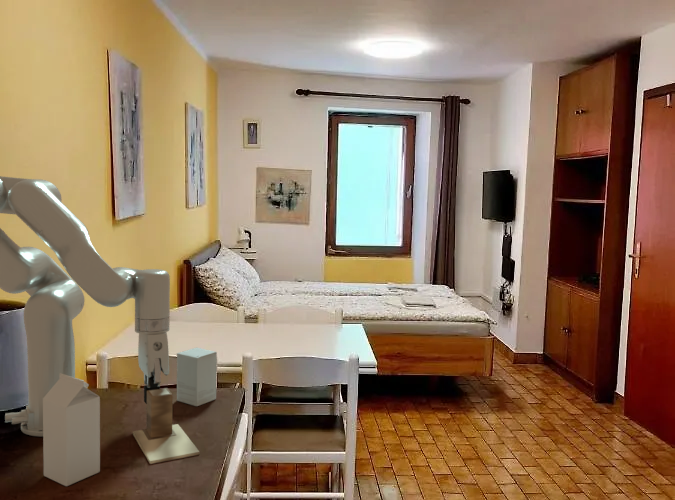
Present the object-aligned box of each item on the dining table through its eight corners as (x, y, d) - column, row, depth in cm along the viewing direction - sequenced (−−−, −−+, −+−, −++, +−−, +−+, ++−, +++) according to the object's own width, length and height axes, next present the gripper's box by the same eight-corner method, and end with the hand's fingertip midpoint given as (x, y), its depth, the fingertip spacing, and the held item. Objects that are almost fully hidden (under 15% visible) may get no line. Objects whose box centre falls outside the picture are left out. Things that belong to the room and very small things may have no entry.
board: (150, 464, 120) (150, 460, 119) (132, 434, 133) (132, 431, 133) (199, 454, 125) (199, 451, 125) (177, 426, 138) (177, 423, 138)
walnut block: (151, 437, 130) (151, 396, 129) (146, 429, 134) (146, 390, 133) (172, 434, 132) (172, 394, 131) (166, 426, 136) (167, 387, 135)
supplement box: (217, 399, 157) (218, 351, 156) (196, 407, 151) (196, 357, 149) (196, 393, 161) (197, 346, 159) (175, 400, 155) (176, 352, 153)
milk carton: (66, 487, 109) (65, 385, 107) (43, 476, 113) (42, 377, 111) (100, 472, 115) (100, 376, 113) (77, 462, 119) (76, 368, 117)
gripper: (178, 329, 132) (177, 410, 134) (160, 316, 145) (160, 390, 147) (143, 333, 128) (142, 416, 130) (128, 318, 141) (128, 394, 143)
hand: (151, 402), depth 139 cm, fingers closed
